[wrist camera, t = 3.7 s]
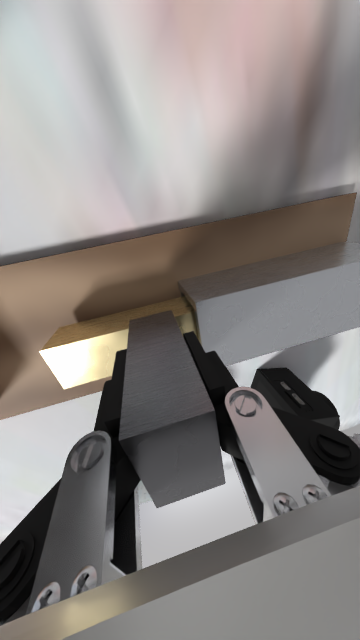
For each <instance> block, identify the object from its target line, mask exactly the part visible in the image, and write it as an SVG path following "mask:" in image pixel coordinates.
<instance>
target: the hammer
mask: <svg viewBox="0 0 360 640" xmlns="http://www.w3.org/2000/svg"><path fill="white" fill-rule="evenodd" d="M191 331H194V333H195V335H196V336H197V338H198V340H199V336H198V330H197V324H196V318H195V311H194V308H193V306H192V305H191V304H190V302H189V301H188V300H187V298H186V297H185V296H184V297H180V298H176V299H172V300H168V301H164V302H159V303H155V304H151V305H147V306H143V307H139V308H135V309H131V310H127V311H123V312H119V313H115V314H111V315H107V316H103V317H99V318H95V319H91V320H87V321H82V322H78V323H74V324H70V325H66V326H62V327H59V328H58V329H57V331H56V332H55V333H54V334H53V336H52V337H51V338H50V339H49V340H48V342H47V343H46V344H45V345H44V347H43V348H42V349H41V350H40V351H39V352H40V353H41V355H42V356H43V358H44V359H45V361H46V362H47V364H48V365H49V367H50V368H51V370H52V371H53V373H54V374H55V376H56V377H57V379H58V380H59V382H60V384H61V385H62V387H63V388H64V389H66V388H70V387H74V386H77V385H81V384H84V383H88V382H91V381H95V380H99V379H102V378H106V377H109V376H112V373H113V367H114V362H115V356H116V352H117V351H120V350H124V349H127V354H126V365H125V376H124V387H123V398H122V409H121V420H120V431H119V442H120V444H121V446H122V448H123V449H124V451H125V453H126V455H127V456H128V458H129V460H130V462H131V463H132V465H133V467H134V469H135V470H136V472H137V474H138V476H139V477H140V479H141V481H142V483H143V484H144V486H145V488H146V490H147V492H148V493H149V495H150V497H151V499H152V500H153V502H154V504H155V506H156V507H157V508H159V507H162V506H164V505H167V504H170V503H173V502H176V501H178V500H181V499H184V498H187V497H189V496H192V495H195V494H198V493H200V492H203V491H206V490H209V489H212V488H214V487H217V486H220V485H223V484H225V477H224V470H223V463H222V456H221V449H220V442H219V435H218V428H217V421H216V414H215V409H214V407H213V405H212V402H211V400H210V398H209V395H208V393H207V391H206V388H205V386H204V384H203V381H202V379H201V377H200V375H199V372H198V370H197V368H196V365H195V363H194V361H193V358H192V356H191V354H190V352H189V349H188V347H187V345H186V342H185V340H184V338H183V334H184V333H187V332H191Z"/></svg>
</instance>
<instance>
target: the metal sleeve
mask: <svg viewBox="0 0 360 640" xmlns="http://www.w3.org/2000/svg"><path fill="white" fill-rule="evenodd" d="M178 285H179V290H180V296H181V297H184V296H185V297H186V298H187V300H188V301H189V302H190V304H191V305H192V306H193V308H194V311H195V318H196V324H197V330H198V336H199V342H200V344H201V345H202V347H203V349H204V351H205V352H206V353H207V352H210V351H216V353H217V354H218V356H219V357H220V359H221V360H222V362H223V363H224V365H225V366H228V365H231V364H235V363H238V362H241V361H245V360H248V359H252V358H255V357H258V356H262V355H265V354H269V353H272V352H276V351H279V350H282V349H286V348H289V347H293V346H296V345H299V344H303V343H306V342H310V341H313V340H317V339H320V338H323V337H327V336H330V335H334V334H337V333H340V332H344V331H347V330H351V329H354V328H357V327H360V243H357V242H339V243H335V244H331V245H327V246H322V247H318V248H314V249H310V250H305V251H301V252H297V253H293V254H289V255H284V256H280V257H276V258H272V259H268V260H263V261H259V262H255V263H251V264H246V265H242V266H238V267H234V268H230V269H225V270H221V271H217V272H213V273H208V274H204V275H200V276H196V277H192V278H187V279H183V280H179V281H178Z"/></svg>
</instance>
